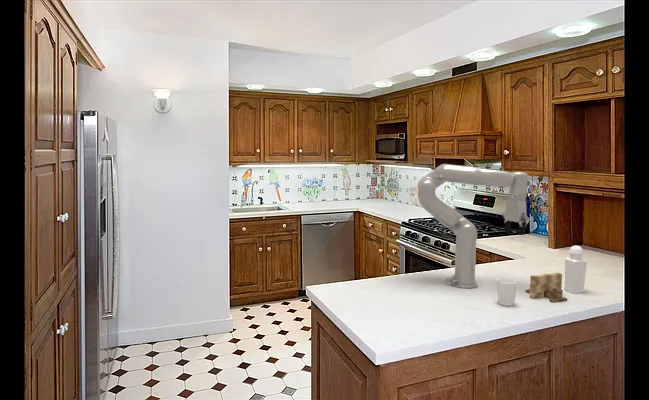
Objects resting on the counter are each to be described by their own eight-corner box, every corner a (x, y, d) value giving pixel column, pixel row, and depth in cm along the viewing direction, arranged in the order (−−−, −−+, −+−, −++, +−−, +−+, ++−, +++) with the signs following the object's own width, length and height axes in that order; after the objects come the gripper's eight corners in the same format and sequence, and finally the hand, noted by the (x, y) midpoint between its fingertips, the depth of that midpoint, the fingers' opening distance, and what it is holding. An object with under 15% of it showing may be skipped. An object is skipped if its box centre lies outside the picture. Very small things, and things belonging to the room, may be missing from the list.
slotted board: (533, 298, 196) (534, 277, 195) (529, 297, 199) (530, 275, 198) (561, 295, 202) (562, 273, 201) (557, 293, 204) (558, 272, 203)
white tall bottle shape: (585, 293, 204) (588, 246, 202) (572, 294, 203) (575, 247, 201) (575, 288, 210) (577, 243, 208) (562, 289, 209) (565, 244, 207)
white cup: (495, 299, 195) (496, 278, 194) (514, 301, 193) (515, 279, 192) (497, 305, 188) (497, 283, 187) (516, 307, 186) (517, 284, 185)
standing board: (567, 300, 194) (567, 289, 193) (553, 302, 191) (553, 291, 191) (538, 290, 209) (539, 279, 208) (525, 291, 206) (525, 281, 206)
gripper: (498, 195, 217) (495, 229, 219) (523, 199, 200) (520, 236, 202) (511, 195, 219) (508, 229, 221) (537, 199, 203) (533, 236, 205)
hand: (514, 232), depth 212 cm, fingers open, 9 cm apart
